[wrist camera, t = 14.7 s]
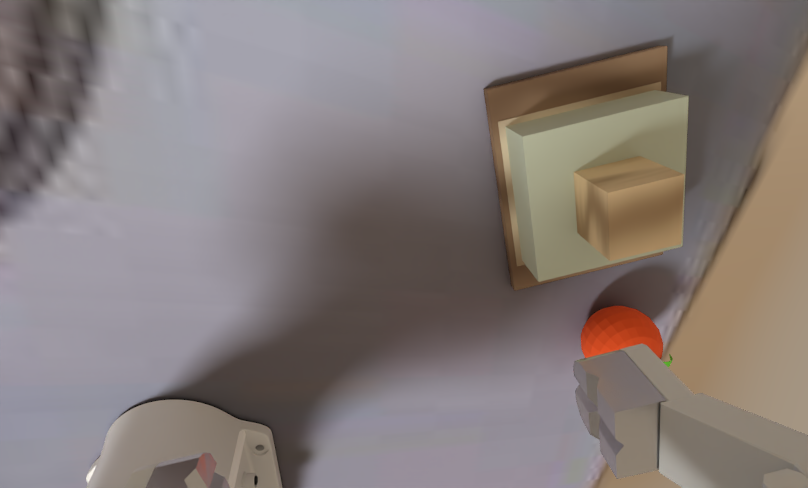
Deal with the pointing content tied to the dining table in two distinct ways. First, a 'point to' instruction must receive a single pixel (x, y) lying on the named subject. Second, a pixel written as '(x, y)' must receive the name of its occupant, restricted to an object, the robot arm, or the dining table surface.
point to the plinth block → (577, 150)
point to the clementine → (619, 332)
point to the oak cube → (629, 207)
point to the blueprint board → (553, 98)
